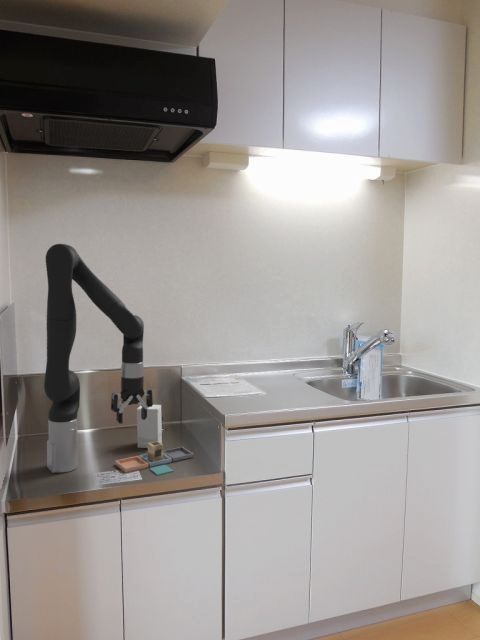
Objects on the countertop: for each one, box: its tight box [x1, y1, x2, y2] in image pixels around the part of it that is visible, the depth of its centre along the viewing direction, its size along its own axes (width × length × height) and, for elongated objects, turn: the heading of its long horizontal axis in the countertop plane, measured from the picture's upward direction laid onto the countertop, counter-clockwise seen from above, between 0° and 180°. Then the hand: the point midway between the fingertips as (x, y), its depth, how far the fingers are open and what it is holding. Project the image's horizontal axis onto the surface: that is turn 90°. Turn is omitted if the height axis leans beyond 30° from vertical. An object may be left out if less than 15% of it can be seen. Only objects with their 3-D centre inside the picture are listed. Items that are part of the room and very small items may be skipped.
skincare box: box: [136, 404, 163, 449], centre depth 200 cm, size 8×7×16 cm
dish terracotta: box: [114, 455, 149, 474], centre depth 180 cm, size 8×8×2 cm
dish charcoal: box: [163, 446, 195, 463], centre depth 191 cm, size 8×8×2 cm
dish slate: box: [138, 453, 173, 468], centre depth 185 cm, size 8×8×2 cm
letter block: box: [147, 441, 164, 462], centre depth 185 cm, size 4×4×6 cm
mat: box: [148, 464, 174, 476], centre depth 177 cm, size 6×6×1 cm
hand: (132, 421), depth 178 cm, fingers open, 8 cm apart
